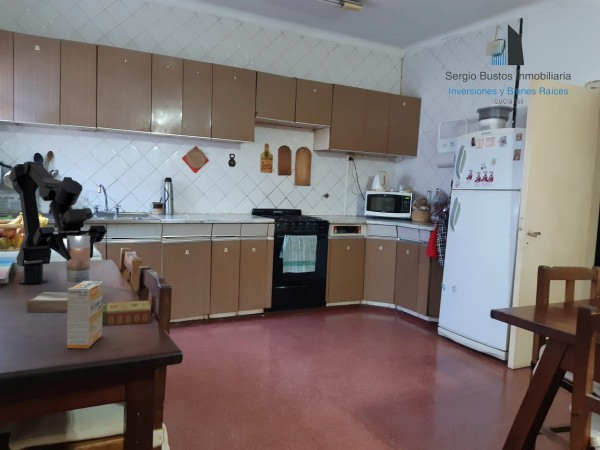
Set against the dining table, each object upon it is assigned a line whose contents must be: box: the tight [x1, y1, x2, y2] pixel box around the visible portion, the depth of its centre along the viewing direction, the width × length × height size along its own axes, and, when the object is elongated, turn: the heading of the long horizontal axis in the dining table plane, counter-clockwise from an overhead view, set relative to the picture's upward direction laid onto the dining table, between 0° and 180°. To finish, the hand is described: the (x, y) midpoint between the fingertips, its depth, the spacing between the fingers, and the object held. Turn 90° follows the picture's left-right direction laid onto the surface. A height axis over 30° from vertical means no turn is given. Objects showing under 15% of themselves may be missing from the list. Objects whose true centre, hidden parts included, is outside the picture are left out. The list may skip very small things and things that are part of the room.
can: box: [65, 234, 91, 284], centre depth 127 cm, size 6×6×13 cm
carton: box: [102, 300, 151, 327], centre depth 115 cm, size 8×16×4 cm, turn 112°
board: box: [26, 291, 68, 313], centre depth 123 cm, size 10×10×3 cm
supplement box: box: [66, 280, 104, 349], centre depth 98 cm, size 8×5×13 cm, turn 5°
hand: (80, 258), depth 126 cm, fingers closed on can, 6 cm apart
